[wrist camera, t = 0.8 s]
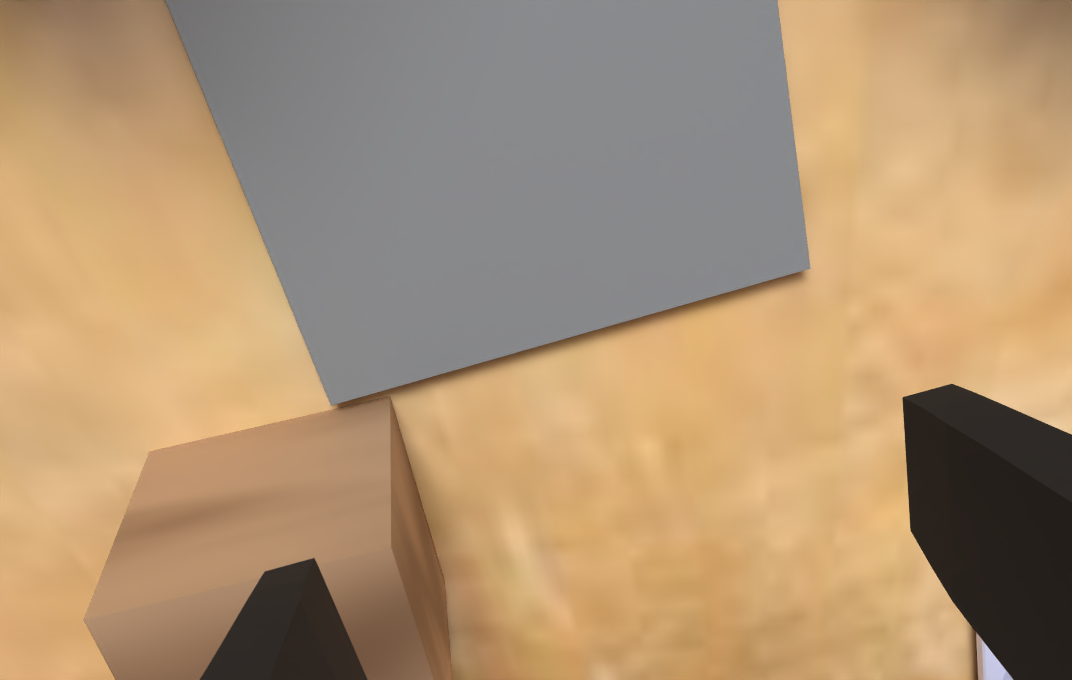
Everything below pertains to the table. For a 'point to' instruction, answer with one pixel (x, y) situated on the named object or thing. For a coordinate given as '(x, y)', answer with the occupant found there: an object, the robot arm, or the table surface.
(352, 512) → the walnut cube
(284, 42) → the mat
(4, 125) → the table surface
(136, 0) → the table surface
